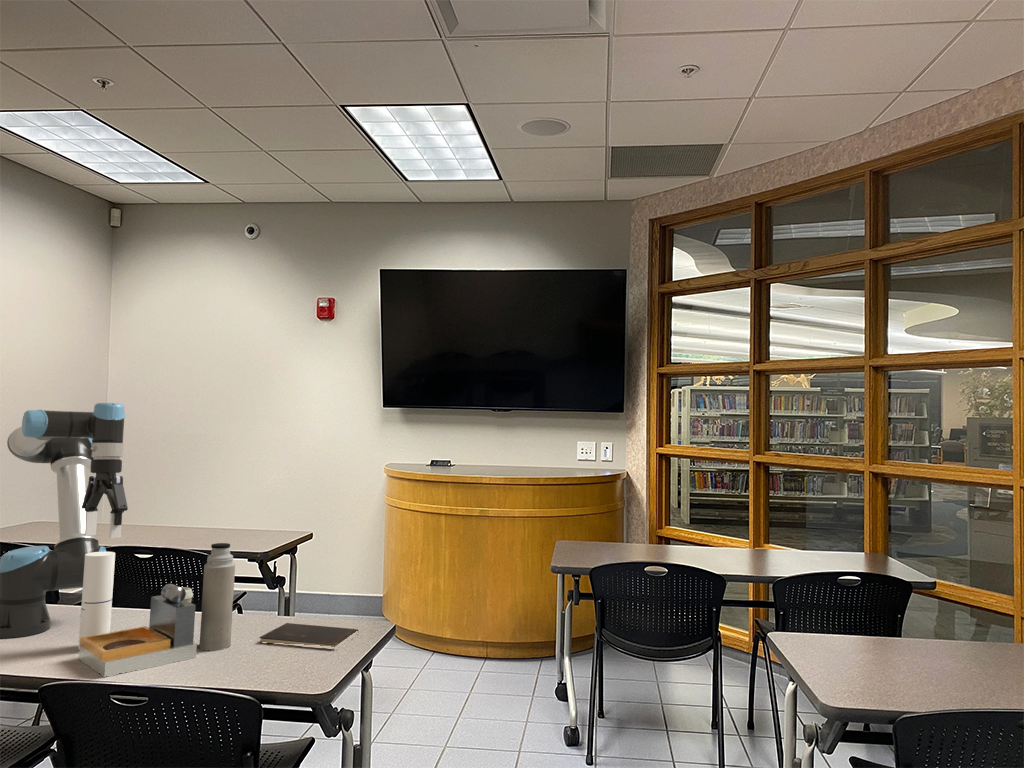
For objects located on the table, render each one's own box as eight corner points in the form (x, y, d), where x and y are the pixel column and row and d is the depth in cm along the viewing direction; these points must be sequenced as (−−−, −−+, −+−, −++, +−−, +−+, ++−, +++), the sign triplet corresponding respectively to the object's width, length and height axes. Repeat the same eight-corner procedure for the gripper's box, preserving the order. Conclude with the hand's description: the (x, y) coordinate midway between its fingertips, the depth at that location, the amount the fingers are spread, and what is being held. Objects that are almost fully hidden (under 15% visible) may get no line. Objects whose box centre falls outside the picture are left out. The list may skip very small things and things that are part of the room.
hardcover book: (335, 652, 195) (335, 644, 196) (258, 645, 200) (259, 637, 200) (358, 636, 211) (358, 628, 211) (287, 630, 215) (287, 622, 216)
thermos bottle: (222, 640, 201) (228, 540, 203) (235, 646, 196) (241, 544, 198) (194, 645, 196) (200, 543, 197) (207, 652, 190) (213, 547, 192)
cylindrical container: (94, 652, 187) (101, 556, 189) (71, 650, 189) (78, 555, 190) (115, 645, 194) (121, 552, 196) (92, 642, 196) (99, 550, 197)
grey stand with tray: (78, 659, 182) (83, 590, 183) (167, 642, 198) (171, 578, 199) (104, 677, 170) (109, 603, 171) (195, 657, 186) (200, 589, 187)
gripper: (70, 459, 200) (66, 535, 198) (115, 458, 186) (111, 540, 184) (98, 459, 207) (94, 533, 204) (144, 458, 193) (140, 537, 190)
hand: (102, 536), depth 194 cm, fingers open, 13 cm apart
